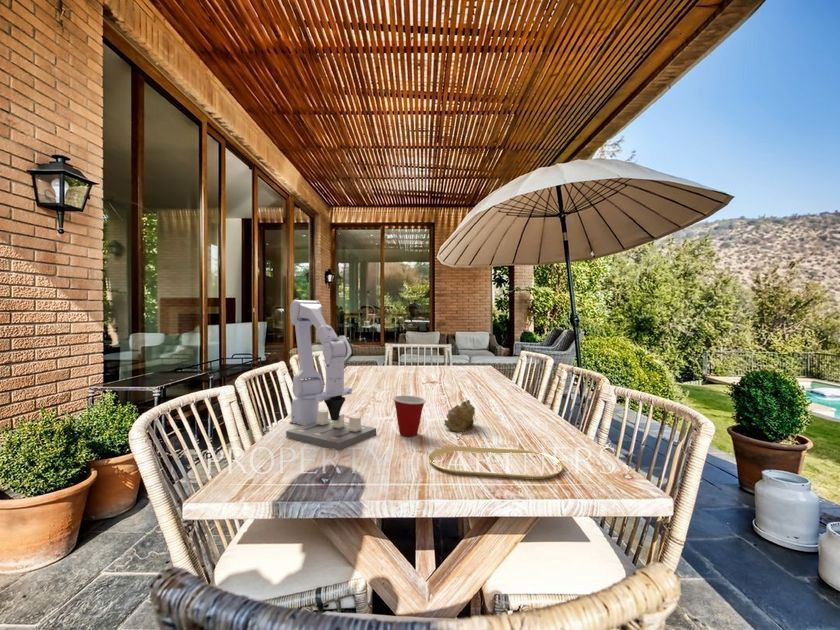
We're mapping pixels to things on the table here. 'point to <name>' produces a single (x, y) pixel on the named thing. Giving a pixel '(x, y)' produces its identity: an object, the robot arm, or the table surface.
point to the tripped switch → (339, 422)
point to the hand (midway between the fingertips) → (334, 419)
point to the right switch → (354, 423)
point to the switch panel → (330, 434)
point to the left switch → (322, 417)
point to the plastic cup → (408, 414)
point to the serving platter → (483, 450)
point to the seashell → (460, 417)
